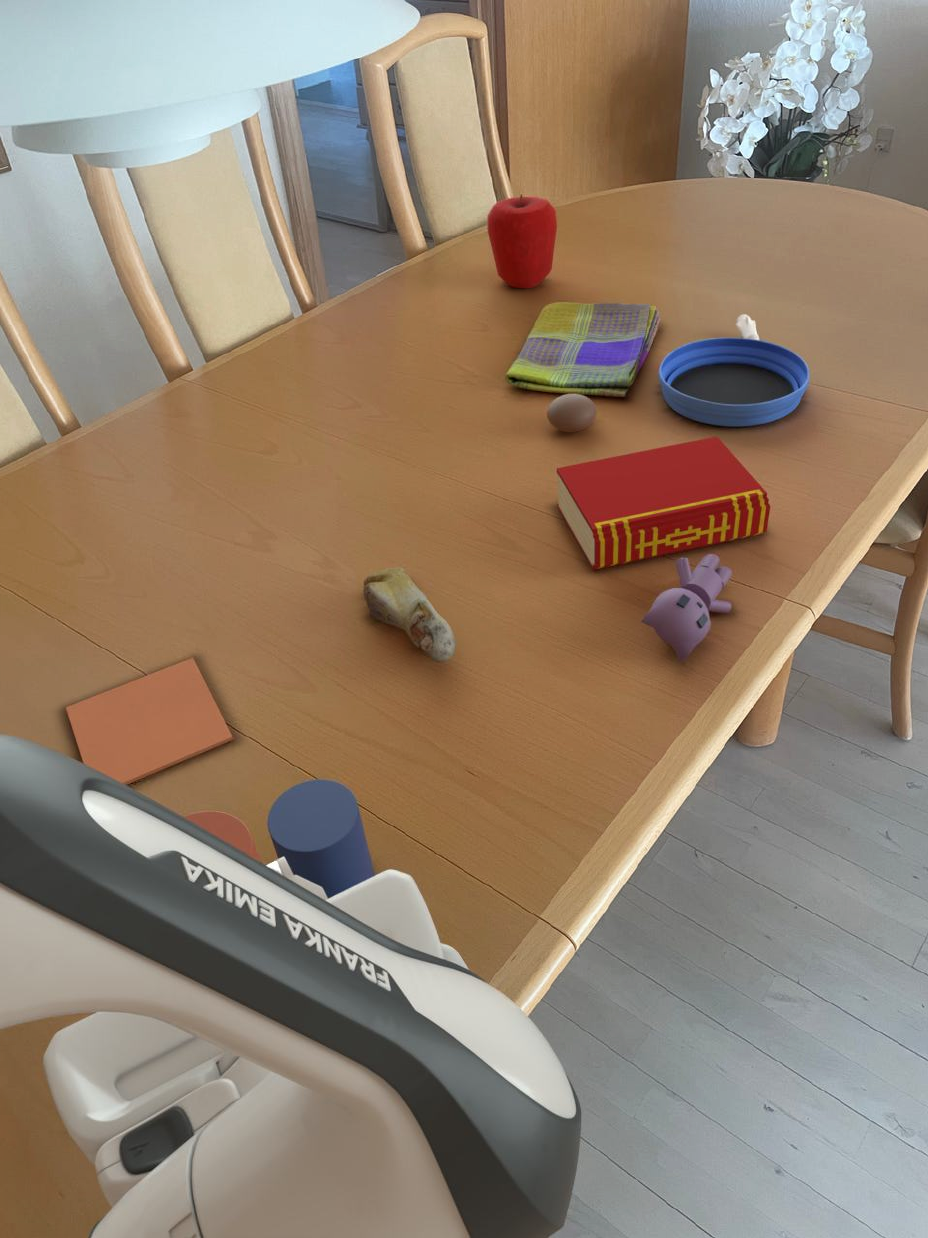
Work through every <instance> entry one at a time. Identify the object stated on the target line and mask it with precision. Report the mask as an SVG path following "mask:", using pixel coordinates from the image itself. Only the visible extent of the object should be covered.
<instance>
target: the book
mask: <svg viewBox="0 0 928 1238" xmlns="http://www.w3.org/2000/svg"><path fill="white" fill-rule="evenodd" d="M556 473H557V492H558V493H557V495H558V497H557V498H558V503H556V505H557V506H556V507H557V509H558V511H559V513H560V514H561V517H562V518H563V520H564V522H565V524H566V525H567V527H568V529H569V530H570V532H571V534H572V536H573V537H574V539H575V541H576V543H577V545H578V546H579V548H580V550H581V552H582V554H583V555H584V557H585V559H586V561H587V563H588V565H589V566H590V568H591V570H592V571H595V570H599V569H605V568H610V567H612V566H613V567H614V566H618V565H623V564H629V563H632V562H638V561H642V560H647V559H650V558H652V559H653V558H655V557H660V556H665V555H669V554H674V553H679V552H683V551H689V550H693V549H699V548H702V547H703V548H704V547H708V546H712V545H717V544H721V543H726V542H732V541H735V540H736V541H737V540H740V539H744V538H749V537H755V536H759V535H762V534H764V533H767V532H768V525H769V518H770V512H771V505H770V504H769V501H770V499H769V498H768V492H767V491H766V490H765V489H764V488H763V486H762V485H760V482H758V481H757V480H756V479H755V478H754V476H753V475H752V474H751V473H750V472H749V471H748V469H747V468H746V467H745V466H744V465H743V463H741V461H740V460H739V459H738V458H737V457H736V456H735V455H734V454H733V452H732V451H731V450H730V449H729V448H728V447H727V445H726V444H724V442H723V441H722V440H721V439H720V438H719V437H718V436H712V437H706V438H702V439H697V440H692V441H687V442H681V443H676V444H672V445H667V446H661V447H656V448H652V449H646V450H641V451H637V452H631V453H627V454H622V455H621V454H620V455H615V456H611V457H607V458H601V459H596V460H591V461H586V462H581V463H576V464H571V465H566V466H560V467H557V468H556Z"/></svg>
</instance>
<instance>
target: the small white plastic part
mask: <svg viewBox="0 0 928 1238" xmlns="http://www.w3.org/2000/svg"><path fill="white" fill-rule="evenodd" d="M735 326H736V328H737V330H738V331H739V333H740V335H741V338H747V339H755V340H760V336H759V334H758V332H757V326H756V321H755V320H752V318H751V317H750V316H749V315H747V314H745V313H744V314H743V313H742V314H741V315H739V316H738V317H737V318H736V323H735Z"/></svg>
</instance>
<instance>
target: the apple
mask: <svg viewBox="0 0 928 1238" xmlns="http://www.w3.org/2000/svg"><path fill="white" fill-rule="evenodd" d="M486 216H487V219H486V220H487V225H486V226H487V227H486V230H487V234H488V239H489V243H490V246H491V251H492V255H493V259H494V260H493V261H494V263H495V268H496V272H497V276H498V277H499V278H500V279H501V280H502V281H503V282H504V283H505V284H506V285H508V286H509V287H511V288H515V289H531V288H535V287H537V286H538V285H540V284H541V283H542V282H543V281H544V280H545V279H546V278H547V277H548V275H550V273H551V271H552V269H553V261H554V254H555V253H554V252H555V245H556V237H557V231H558V221H557V211H556V209H555V207H554V206H553V204H551V203H550V201H549V200H547V198H543V197H539V196H538V197H537V196H523V194H522V193H521V194H520V196H518V197H509V198H503V199H501V200H499V201H496V202H495V203H494V205H492V207H491V209H490V211H489V212H488V214H487V215H486Z"/></svg>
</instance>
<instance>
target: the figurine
mask: <svg viewBox="0 0 928 1238" xmlns="http://www.w3.org/2000/svg"><path fill="white" fill-rule="evenodd" d="M719 564H720V557H719V556H718V555H717V554H714V553H708V554H706V555H704V556H703V557H702V559H701V560H700V561H699V562H698V564H696V567H694V569H693V570H692V571H691V567H690V562H689V559H688V558H687V557H680V558H678V559H676V561H675V565H676V566H675V567H676V571H677V574H678V579H679V584H680V588H679V587H673V588H670V589H667V590H664V591H662V592H661V593H660V594H659V595H657V597H656V599H654V601H653V603H652V605H651V608H650V609H649V610H648V612H647V613H645V616H644V617H643V618H642V619H641V620H640V623H642V624H643V625H646V626H648V627H650V628H652V629H653V630H654V632H655V634H656V635H657V637H659V638H660V640H662V641H663V642H664V643H665V644H666V645H669V646H671V647H672V649H673V651H674V653H675V654H676V656H677V657H678V660H680V663H681V664H682V665H684V664H685V663H686V661H687V660H688V658H689V657H690V655H691V654H692V652H693V650H694V649H695V648H696V646H697V645H699V644H701V642H702V641H703V640H704V639H705V637H706V636H707V634H708V633H709V632H710V630H711V626H712V621H711V619H710V612H714V613H720V614H729V612H731V610H732V603H731V602H730V601H728V600H722V599H716V598H717V597H718V595H720V593H721V591H722V590H723V589H724V587H725V586H726V584H727V583H728V582H729V580H730V579H731V578H732V574H733V573H732V570H731V568H730V567H728V566H719ZM718 566H719V567H718Z"/></svg>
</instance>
